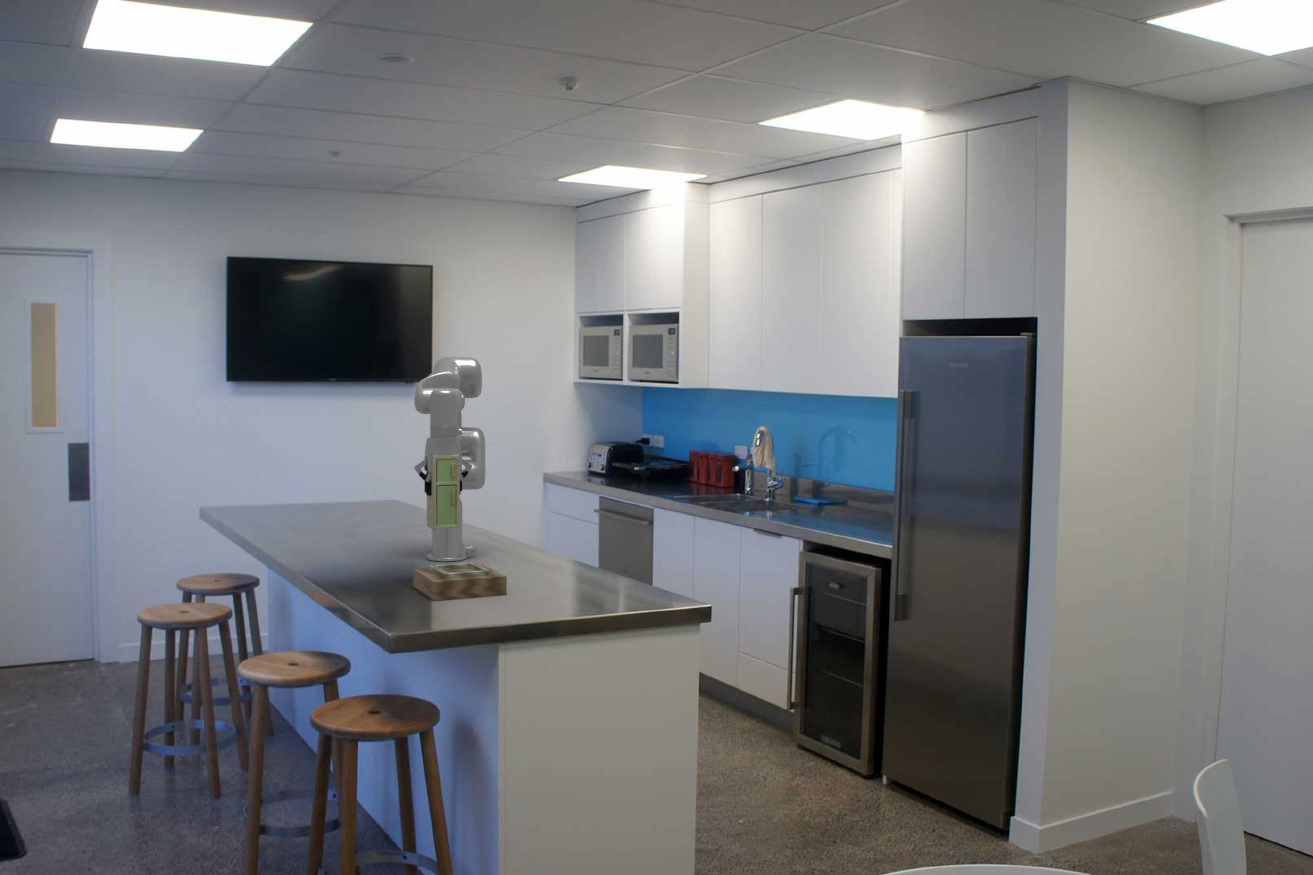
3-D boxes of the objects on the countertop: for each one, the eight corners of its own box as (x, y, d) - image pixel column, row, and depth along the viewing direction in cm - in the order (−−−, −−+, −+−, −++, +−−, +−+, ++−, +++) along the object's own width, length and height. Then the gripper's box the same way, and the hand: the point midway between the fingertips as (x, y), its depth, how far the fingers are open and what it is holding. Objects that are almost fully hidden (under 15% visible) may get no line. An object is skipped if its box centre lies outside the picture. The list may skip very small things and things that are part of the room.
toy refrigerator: (433, 530, 314) (433, 455, 312) (425, 526, 320) (426, 453, 319) (460, 528, 317) (461, 455, 316) (452, 525, 324) (453, 453, 322)
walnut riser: (482, 581, 320) (482, 559, 319) (506, 594, 302) (506, 571, 302) (413, 586, 311) (413, 564, 310) (434, 600, 293) (434, 577, 292)
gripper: (469, 432, 324) (468, 492, 325) (409, 432, 316) (409, 494, 317) (477, 433, 318) (476, 494, 319) (416, 434, 310) (416, 497, 311)
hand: (443, 494), depth 318 cm, fingers closed on toy refrigerator, 7 cm apart
